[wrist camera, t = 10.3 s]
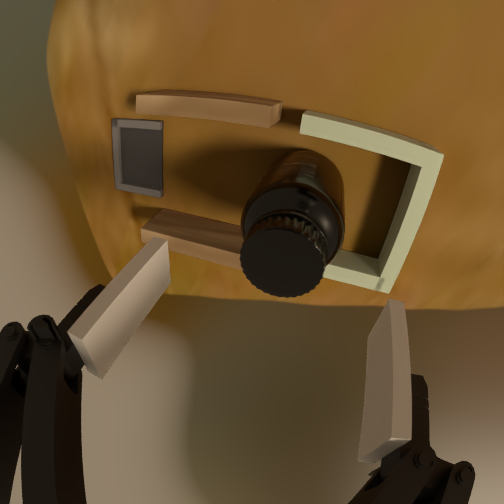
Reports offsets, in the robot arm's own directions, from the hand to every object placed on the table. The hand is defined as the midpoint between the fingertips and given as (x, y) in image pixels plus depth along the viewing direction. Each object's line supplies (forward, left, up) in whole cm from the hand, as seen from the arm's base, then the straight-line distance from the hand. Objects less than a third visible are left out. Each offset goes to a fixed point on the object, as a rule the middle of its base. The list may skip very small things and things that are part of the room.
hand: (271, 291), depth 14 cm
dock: (0, +4, -15) cm, 15 cm away
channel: (0, -9, -15) cm, 17 cm away
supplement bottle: (0, 0, -15) cm, 15 cm away
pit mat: (0, -17, -15) cm, 23 cm away
